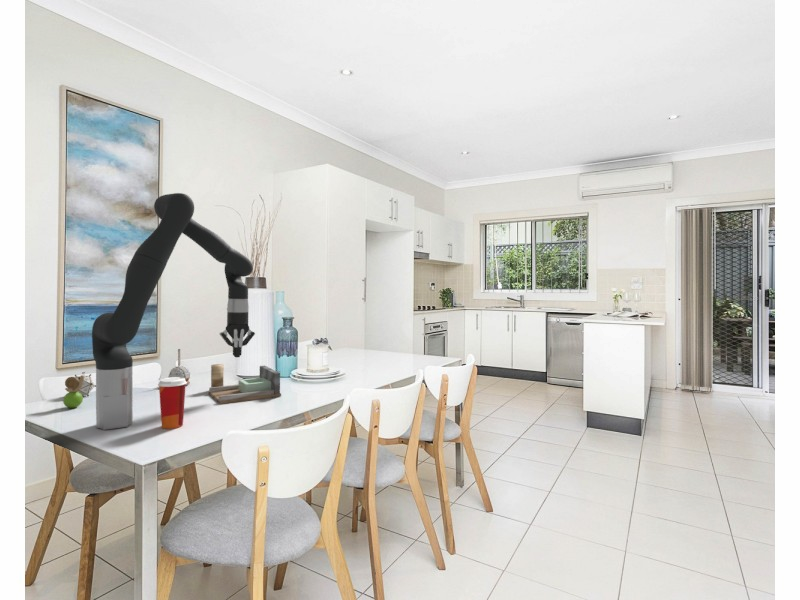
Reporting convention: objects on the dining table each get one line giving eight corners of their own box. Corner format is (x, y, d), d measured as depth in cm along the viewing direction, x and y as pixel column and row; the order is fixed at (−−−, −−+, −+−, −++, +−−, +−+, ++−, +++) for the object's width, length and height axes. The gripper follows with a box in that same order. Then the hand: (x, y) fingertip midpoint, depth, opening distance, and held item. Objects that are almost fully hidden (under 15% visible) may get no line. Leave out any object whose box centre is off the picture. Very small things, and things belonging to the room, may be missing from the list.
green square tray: (270, 392, 176) (271, 381, 176) (245, 395, 171) (245, 384, 171) (262, 387, 184) (262, 377, 184) (238, 390, 179) (238, 379, 179)
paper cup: (176, 420, 142) (176, 375, 142) (192, 424, 138) (192, 378, 138) (151, 427, 135) (151, 380, 135) (167, 431, 132) (167, 383, 131)
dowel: (224, 390, 182) (224, 365, 181) (212, 392, 179) (212, 366, 179) (221, 388, 185) (221, 363, 185) (209, 389, 183) (210, 364, 182)
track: (281, 396, 174) (281, 372, 174) (220, 404, 162) (220, 378, 162) (265, 387, 189) (265, 365, 189) (208, 393, 177) (208, 370, 176)
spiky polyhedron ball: (82, 407, 168) (77, 389, 162) (64, 397, 170) (58, 379, 164) (103, 391, 175) (98, 373, 169) (86, 382, 177) (80, 364, 171)
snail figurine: (79, 409, 152) (79, 373, 152) (59, 409, 152) (58, 373, 151) (89, 405, 157) (89, 370, 157) (69, 405, 157) (69, 370, 156)
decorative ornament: (177, 382, 195) (177, 347, 194) (193, 383, 193) (193, 348, 192) (164, 386, 187) (164, 349, 186) (181, 387, 185) (181, 350, 185)
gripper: (222, 311, 166) (221, 359, 166) (258, 311, 174) (257, 357, 174) (217, 310, 172) (216, 356, 173) (252, 310, 180) (251, 354, 180)
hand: (237, 357), depth 173 cm, fingers closed
